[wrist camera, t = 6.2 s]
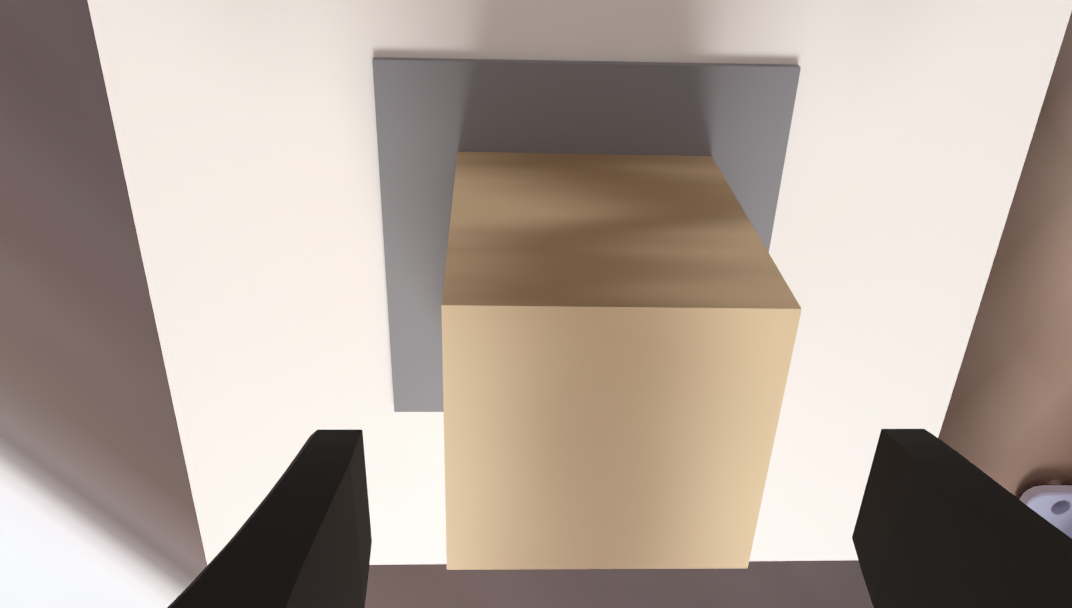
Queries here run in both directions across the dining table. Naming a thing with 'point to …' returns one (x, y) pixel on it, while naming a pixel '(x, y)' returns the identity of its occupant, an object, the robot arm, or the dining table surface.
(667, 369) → the block
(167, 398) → the dining table surface
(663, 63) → the plinth
